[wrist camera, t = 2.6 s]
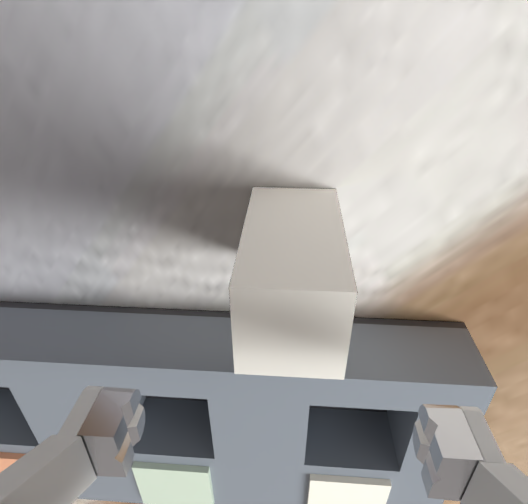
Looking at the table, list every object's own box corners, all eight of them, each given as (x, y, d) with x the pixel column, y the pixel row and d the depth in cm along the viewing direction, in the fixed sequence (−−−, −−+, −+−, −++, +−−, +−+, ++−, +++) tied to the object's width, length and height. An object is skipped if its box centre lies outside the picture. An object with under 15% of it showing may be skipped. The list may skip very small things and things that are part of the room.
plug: (252, 186, 19) (228, 287, 12) (336, 188, 19) (357, 292, 12) (254, 256, 21) (234, 373, 15) (329, 258, 21) (344, 379, 14)
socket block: (-93, 297, 25) (-172, 356, 21) (463, 322, 23) (501, 394, 18) (-10, 431, 32) (-55, 494, 28) (415, 459, 30) (433, 532, 26)
